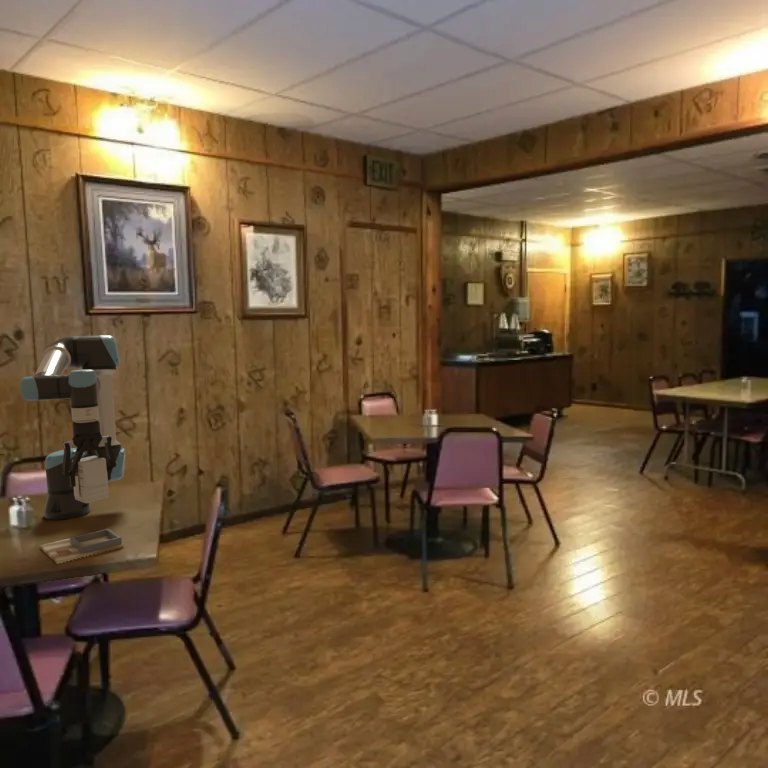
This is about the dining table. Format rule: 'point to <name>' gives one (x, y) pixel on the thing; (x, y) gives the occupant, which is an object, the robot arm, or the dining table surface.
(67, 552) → the board
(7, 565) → the dining table surface
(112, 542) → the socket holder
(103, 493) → the supplement box
